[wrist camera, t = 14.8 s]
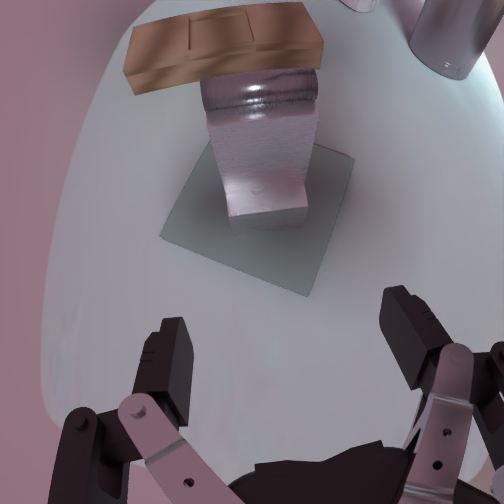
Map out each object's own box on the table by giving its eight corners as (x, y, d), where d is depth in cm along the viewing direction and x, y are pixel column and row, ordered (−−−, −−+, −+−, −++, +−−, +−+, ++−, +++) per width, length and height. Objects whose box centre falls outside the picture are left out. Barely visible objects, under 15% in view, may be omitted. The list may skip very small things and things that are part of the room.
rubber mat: (225, 123, 27) (223, 117, 26) (352, 165, 25) (354, 159, 24) (163, 239, 24) (159, 235, 23) (307, 297, 23) (308, 295, 22)
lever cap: (234, 236, 23) (203, 135, 11) (226, 166, 25) (198, 45, 13) (301, 227, 23) (333, 121, 11) (287, 158, 24) (299, 35, 13)
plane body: (135, 95, 29) (122, 70, 25) (142, 49, 31) (133, 26, 27) (319, 68, 29) (323, 41, 25) (300, 26, 31) (302, 2, 27)
